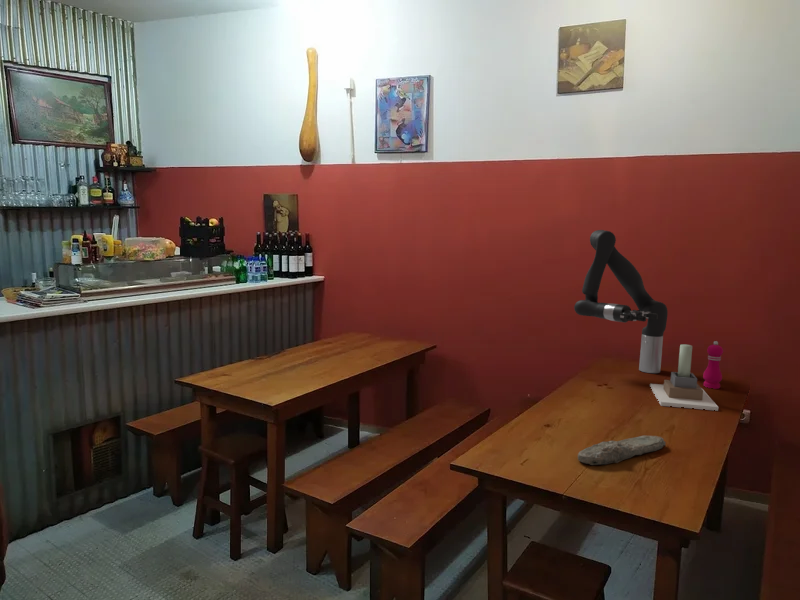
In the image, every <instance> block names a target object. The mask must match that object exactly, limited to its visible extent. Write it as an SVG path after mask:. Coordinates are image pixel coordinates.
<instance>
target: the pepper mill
mask: <svg viewBox="0 0 800 600" xmlns="http://www.w3.org/2000/svg"><path fill="white" fill-rule="evenodd" d="M706 353H707V354H708V355H707V359H708V364H707V367H706V369H705V370H704V371H703V374H702V375H703V376H702V378H703V380H704V381H703V387H704V386H705V388H707V387H708V388H707V389H711V388H713V389H712V390H715V389H716V390H717V389H720V388H721V383H720V382H721V381H722V380H723V374H722V372H721V368H720V361H721V360H722V355H723V353H724V349H723V347H722V346H721V345H719V342H718V341H717V340H716V341H715V340H714V341H713V344H710V345H709V346H708V347H707V350H706Z"/></svg>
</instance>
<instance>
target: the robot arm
mask: <svg viewBox="0 0 800 600" xmlns="http://www.w3.org/2000/svg"><path fill="white" fill-rule="evenodd" d="M590 234H591V235H590V237H589V243H590V245H591V247H592V249H594V251H595V255H594V258H593V262H592V263H591V265H590V267H589V269H588V271H587V273H586V274H585V277H584V281H583V285H582V290H581V292H582V294H584V296H585V299H580V300H578V301H576V302H575V304H574V306H573V309H574V312H575V313H576V314H577V315H578V316H585V317H594V318H599V319H604V320H609V321H612V322H617V323H628V322H637V321H638V322H646V323H647V324H646V326H644V327H643V328H642V330H641V340H640V351H639V352H640V353H639V354H640V355H639V365H638V371H641V372H642V373H648V374H659V373H661V365H662V355H663V342H664V334H665V333H664V332H665V330H666V328H667V322H668V315H669V313H668V308H667V305H666V304H665V303H663V302H661V301H659V300H655V299H654V298H653V297H652V295H650V294H649V292H647V290H646V288H645V285H644V281H643V277H642V276H641V274H640V273H639V271H638V269H637V268H636V267H635V265H634V264H633V262H631V261H630V260H628V259H627V258H626V257H625V256H624V255H623V254H621V252H619V250H618V249H617V248H616V246H615V245H616V241H617V240H616V239H617V237H616V236H615V233H613V232H612V231H609V230H604V229H597V230H594V231H593V232H592V233H590ZM606 267H608V268H609V269H610V271H611V272H612V273H613V275H614V276H615V278H616V279H617V281H618V282H619V283H620V285H621V286H622V288H624V290H625V292H626V293H627V294H628V295H629V296H630V298H631V299H632V300H633V302H634V303H635V305H636V307H637V309H631V307H630V306H629V305H627V304H619V303H608V302H599V297H598V296H599V294H598V293H599V290H600V286H601V282H602V279H603V275H604V272H605V270H606Z"/></svg>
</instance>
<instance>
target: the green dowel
mask: <svg viewBox="0 0 800 600" xmlns="http://www.w3.org/2000/svg"><path fill="white" fill-rule="evenodd" d="M692 353H693V345H691V344H686V343H685V344H680V346H679V354H678V365H677V366H678V367H677V372H678V377H689V378H690V373H691V367H692V357H693V355H692Z"/></svg>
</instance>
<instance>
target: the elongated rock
mask: <svg viewBox="0 0 800 600" xmlns="http://www.w3.org/2000/svg"><path fill="white" fill-rule="evenodd" d="M666 443H667V442H666V441H665V440H664V438H663V437H662V436H658V435H640V436H636V437H629V438H624V439H622V440H617V441H616V440H609V441H605V440H603V441H601V442H599V443H596V444H593V445H591V446H588V447H586V448H584V449H582V450H580V451H578V453H577V460H578V461H579V462H581V463H583V464H587V465H591V466H598V465H608V464H613V463H615V464H618V463H619V462H622V461H623V460H628V459H631V458H633V457H634V456H642V455H643V454H647V453H652V452H657V451H658V450H661V449H663V448H664V447H666Z"/></svg>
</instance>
